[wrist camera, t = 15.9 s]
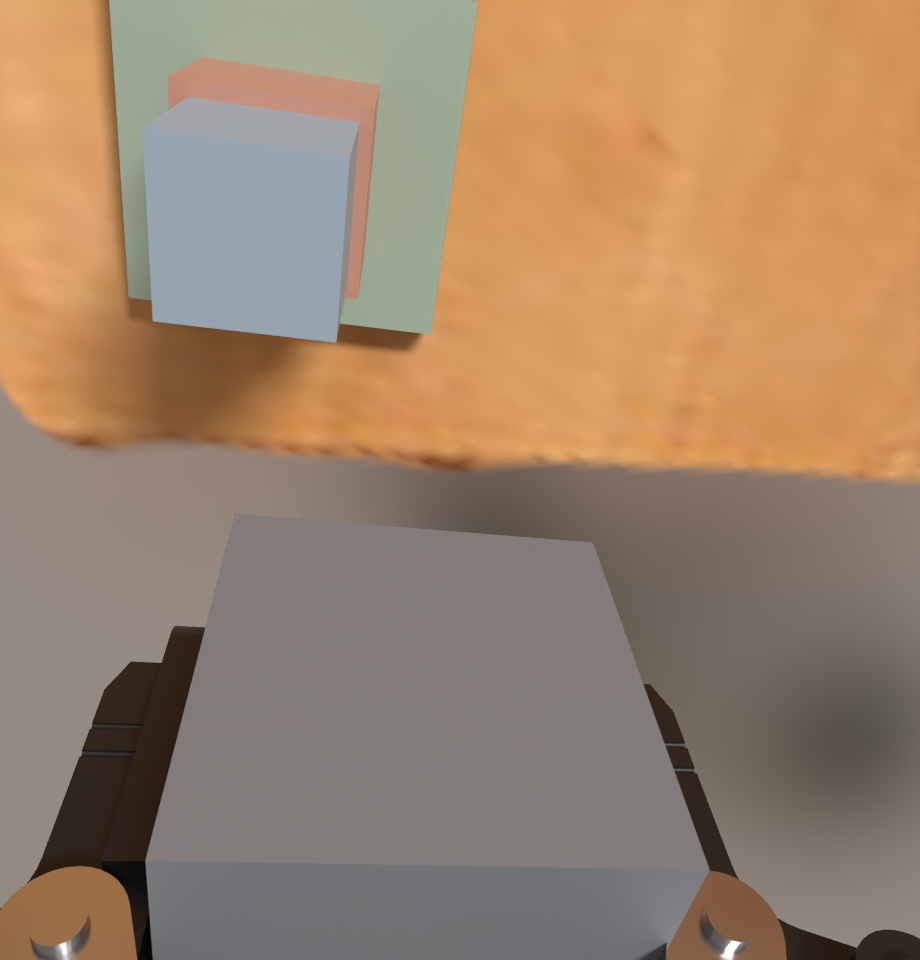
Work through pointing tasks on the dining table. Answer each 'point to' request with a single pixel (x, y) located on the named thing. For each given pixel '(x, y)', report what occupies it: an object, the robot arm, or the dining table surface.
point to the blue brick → (249, 218)
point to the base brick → (298, 97)
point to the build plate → (332, 53)
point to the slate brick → (416, 759)
